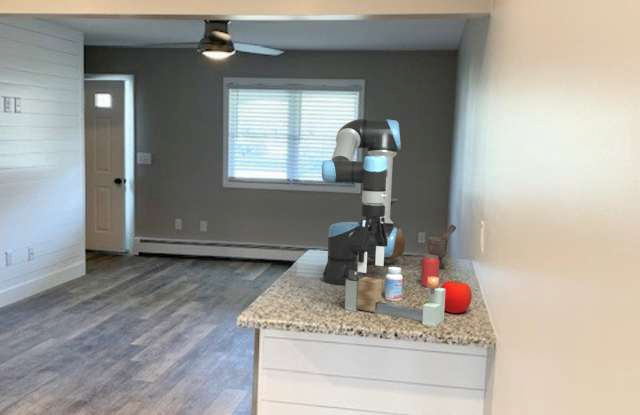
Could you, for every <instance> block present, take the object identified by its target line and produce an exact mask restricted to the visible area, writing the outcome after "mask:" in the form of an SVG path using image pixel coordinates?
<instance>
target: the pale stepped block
mask: <svg viewBox="0 0 640 415" xmlns="http://www.w3.org/2000/svg"><path fill="white" fill-rule="evenodd" d="M422 307H423V308H422V309H423V321H421V322H422V325H425V326H430V327H436V326H438V325H439V324H440V323H441V322H443V321H444V320H445V310H444V308H445V289H443V288H441V287H438V288H437V289H435V294H431V288H429V289H428V302H426V303H424V305H423V306H422Z"/></svg>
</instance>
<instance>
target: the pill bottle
mask: <svg viewBox="0 0 640 415" xmlns="http://www.w3.org/2000/svg"><path fill="white" fill-rule="evenodd" d="M387 272H388V273H387V274H386V275H385V283H384V284H385V285H384V299H385V300H386V301H392V302H400V301H402V299H403V281H404V278H403V275H402V274H401V273H402V268H401V267H398V266H389V267H387Z"/></svg>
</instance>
